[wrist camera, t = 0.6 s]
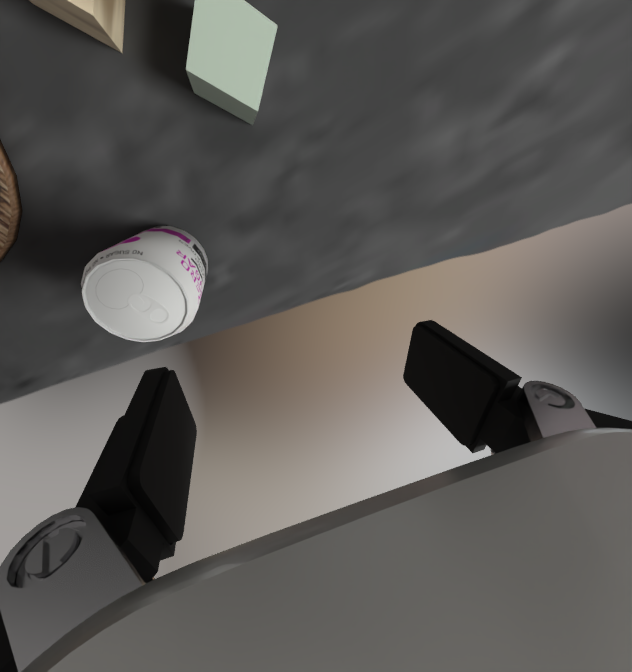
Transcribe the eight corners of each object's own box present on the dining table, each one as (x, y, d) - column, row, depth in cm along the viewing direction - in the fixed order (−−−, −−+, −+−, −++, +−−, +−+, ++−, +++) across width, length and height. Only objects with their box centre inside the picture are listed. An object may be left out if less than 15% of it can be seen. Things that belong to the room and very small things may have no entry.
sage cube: (205, 14, 23) (199, -34, 18) (268, 57, 26) (277, 25, 21) (194, 93, 25) (185, 69, 20) (252, 125, 28) (257, 111, 23)
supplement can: (119, 257, 30) (44, 304, 18) (166, 209, 29) (120, 223, 17) (179, 302, 35) (152, 364, 22) (221, 261, 34) (218, 302, 21)
